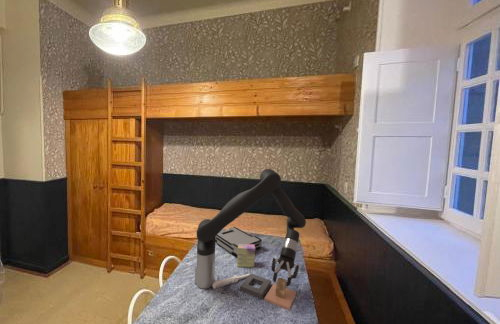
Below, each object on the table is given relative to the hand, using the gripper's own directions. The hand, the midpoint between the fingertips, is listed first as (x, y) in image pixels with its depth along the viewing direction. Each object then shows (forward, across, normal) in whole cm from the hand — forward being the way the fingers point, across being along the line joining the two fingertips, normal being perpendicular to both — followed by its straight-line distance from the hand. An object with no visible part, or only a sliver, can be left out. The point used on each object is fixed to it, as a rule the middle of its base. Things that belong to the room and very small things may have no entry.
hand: (280, 283), depth 101 cm
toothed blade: (+6, -26, +4) cm, 27 cm away
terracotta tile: (+5, 0, +6) cm, 7 cm away
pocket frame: (+5, -14, +6) cm, 15 cm away
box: (-7, -28, +17) cm, 33 cm away
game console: (-19, -46, +30) cm, 58 cm away
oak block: (+4, 0, +5) cm, 6 cm away
